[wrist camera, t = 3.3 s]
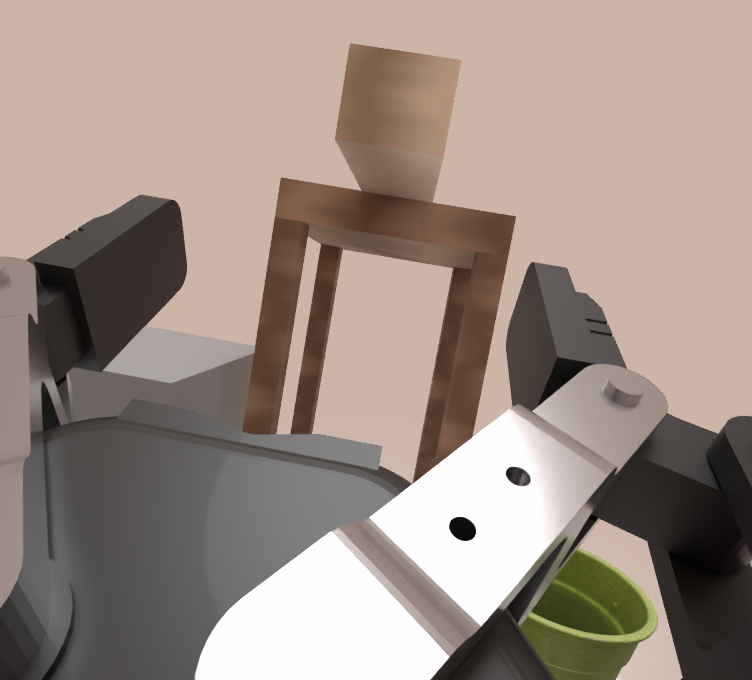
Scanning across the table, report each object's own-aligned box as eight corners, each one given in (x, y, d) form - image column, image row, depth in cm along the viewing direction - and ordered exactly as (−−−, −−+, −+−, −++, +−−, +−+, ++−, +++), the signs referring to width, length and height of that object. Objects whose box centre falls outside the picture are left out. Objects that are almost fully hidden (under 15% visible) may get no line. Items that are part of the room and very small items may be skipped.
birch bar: (334, 138, 17) (350, 43, 16) (380, 226, 40) (386, 188, 40) (443, 156, 16) (461, 60, 16) (424, 233, 40) (431, 195, 40)
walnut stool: (194, 745, 29) (281, 175, 26) (268, 591, 44) (328, 219, 41) (401, 792, 28) (516, 214, 25) (404, 620, 43) (476, 245, 40)
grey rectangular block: (-80, 809, 23) (-35, 344, 21) (103, 618, 37) (141, 325, 35) (106, 854, 23) (170, 383, 21) (221, 643, 37) (266, 348, 35)
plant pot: (528, 865, 26) (574, 660, 25) (400, 688, 36) (429, 537, 35) (656, 780, 32) (698, 614, 31) (516, 650, 42) (544, 521, 41)
